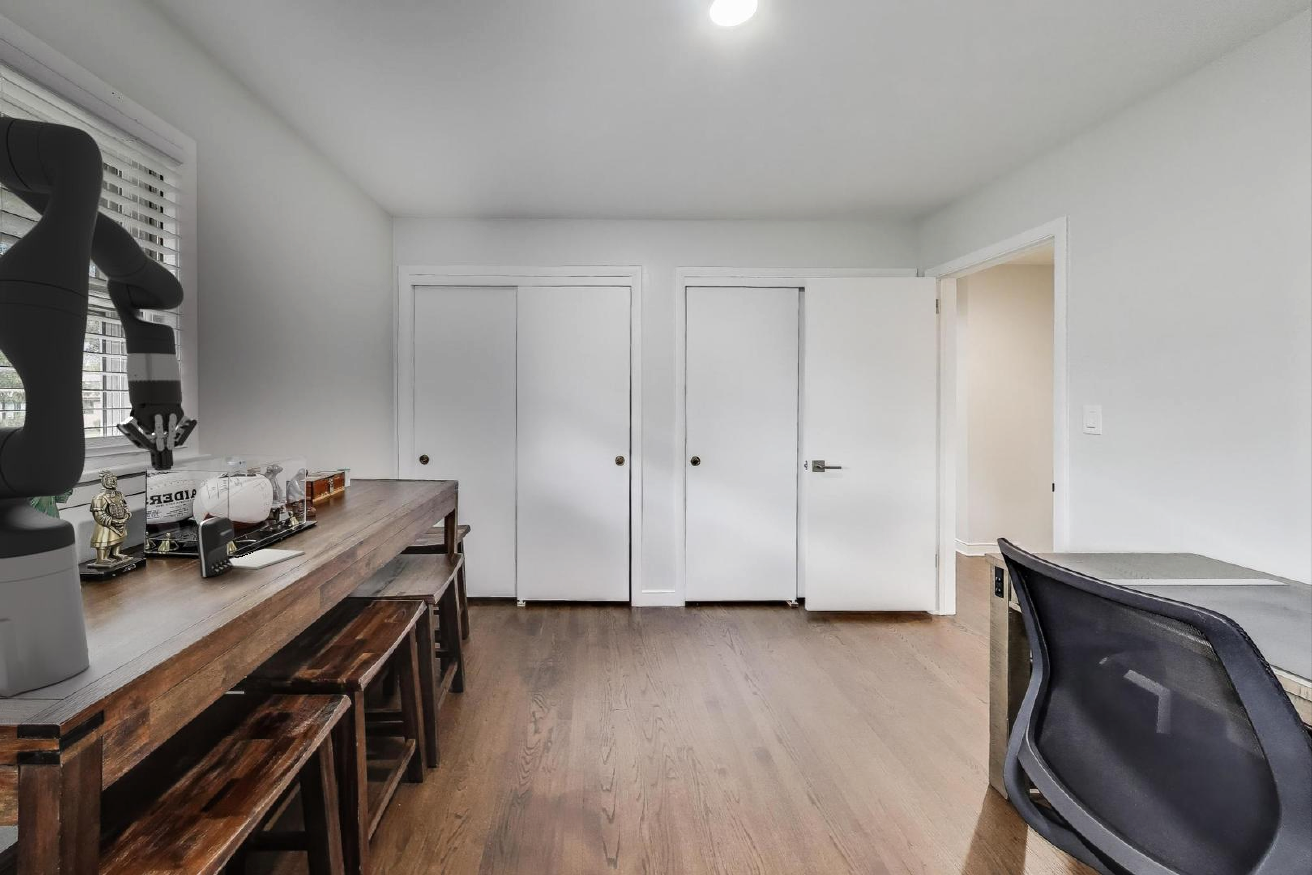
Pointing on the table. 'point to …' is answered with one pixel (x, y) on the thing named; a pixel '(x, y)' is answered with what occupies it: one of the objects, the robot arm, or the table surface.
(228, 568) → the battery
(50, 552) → the robot arm
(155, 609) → the table surface
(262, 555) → the mat
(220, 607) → the table surface
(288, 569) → the table surface
